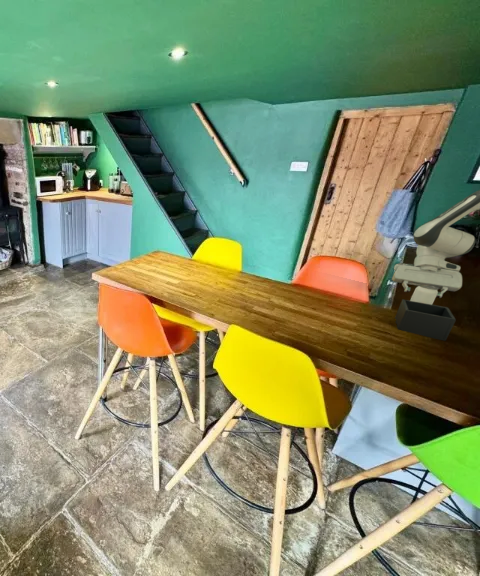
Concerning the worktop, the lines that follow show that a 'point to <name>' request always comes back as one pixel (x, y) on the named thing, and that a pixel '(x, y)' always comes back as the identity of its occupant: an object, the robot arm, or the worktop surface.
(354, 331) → the worktop surface
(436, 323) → the bin
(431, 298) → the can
